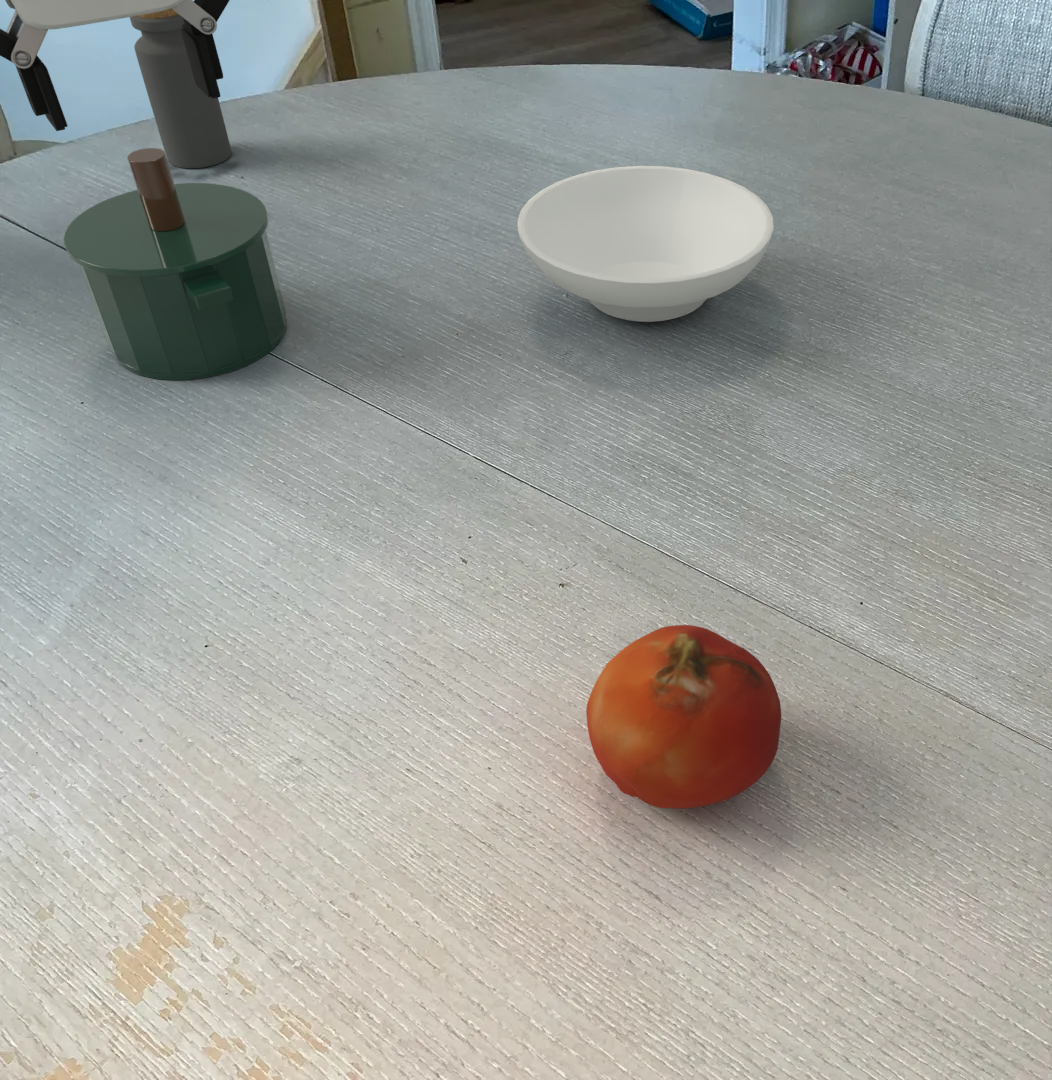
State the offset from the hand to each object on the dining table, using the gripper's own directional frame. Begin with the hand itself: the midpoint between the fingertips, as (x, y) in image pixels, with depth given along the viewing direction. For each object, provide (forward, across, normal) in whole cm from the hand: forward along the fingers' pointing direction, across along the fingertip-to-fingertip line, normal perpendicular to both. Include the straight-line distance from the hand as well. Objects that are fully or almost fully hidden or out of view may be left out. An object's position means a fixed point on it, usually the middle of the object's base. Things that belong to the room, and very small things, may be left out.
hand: (135, 107), depth 77 cm
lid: (+9, 0, 0) cm, 9 cm away
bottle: (+17, -10, -32) cm, 38 cm away
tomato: (+18, -7, +54) cm, 57 cm away
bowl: (+18, -31, +14) cm, 38 cm away
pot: (+17, 0, 0) cm, 17 cm away
